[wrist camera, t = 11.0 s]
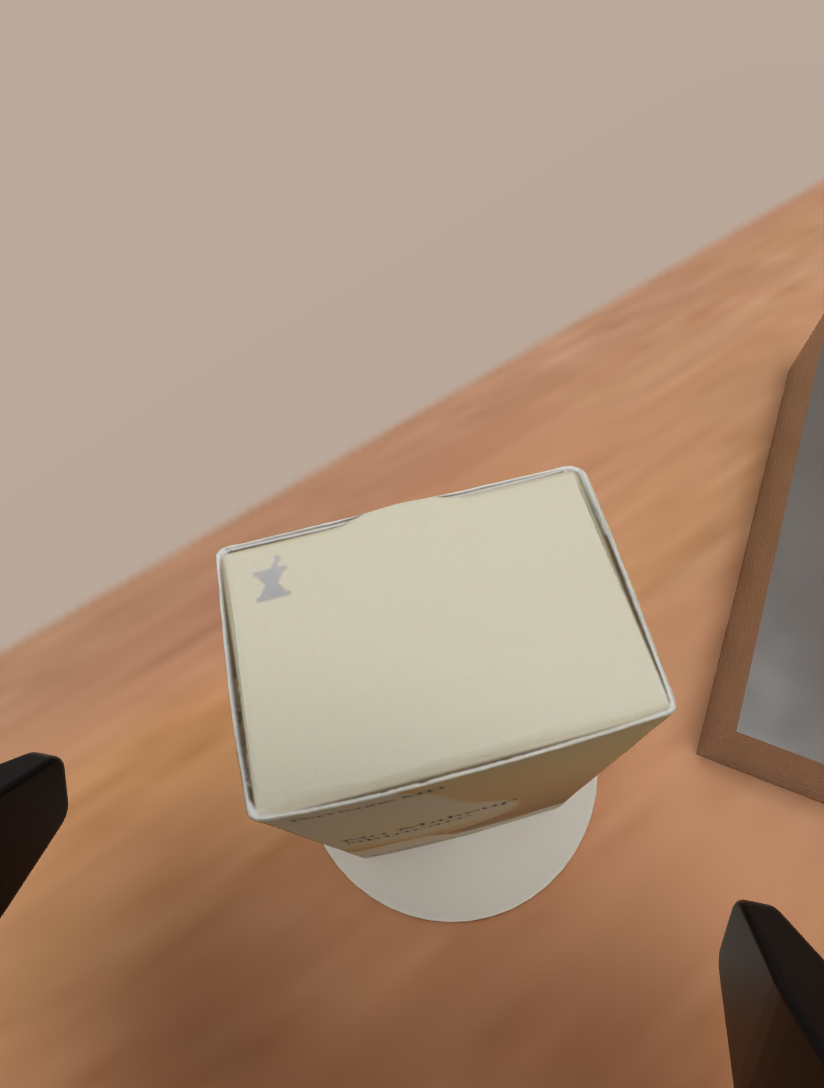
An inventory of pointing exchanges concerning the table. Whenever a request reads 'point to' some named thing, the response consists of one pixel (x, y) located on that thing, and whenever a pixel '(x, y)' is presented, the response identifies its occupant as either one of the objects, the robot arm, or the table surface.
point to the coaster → (475, 865)
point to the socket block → (780, 607)
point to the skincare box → (435, 664)
